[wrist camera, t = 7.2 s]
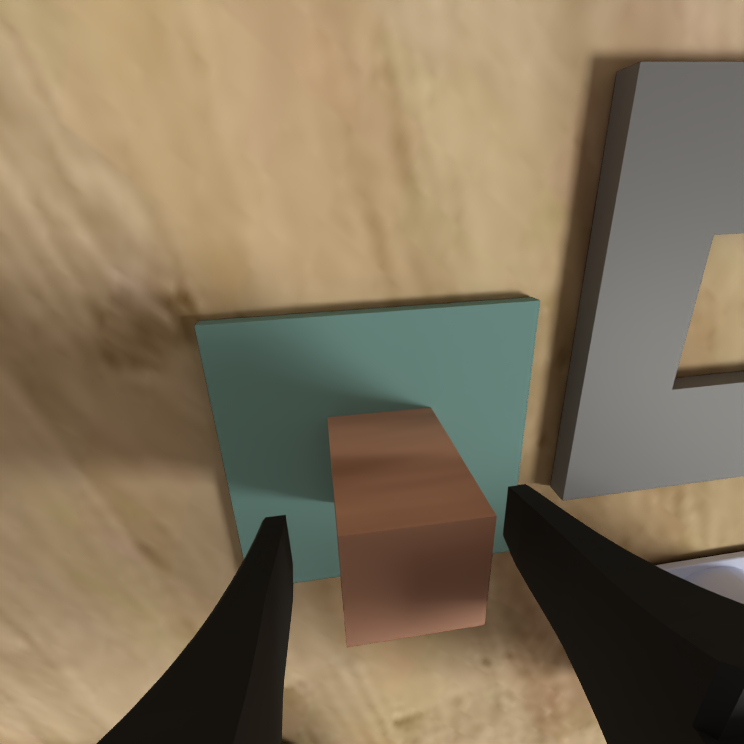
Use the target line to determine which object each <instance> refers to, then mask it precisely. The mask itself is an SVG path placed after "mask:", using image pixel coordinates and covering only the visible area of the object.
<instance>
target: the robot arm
mask: <svg viewBox="0 0 744 744" xmlns="http://www.w3.org/2000/svg"><path fill="white" fill-rule="evenodd" d="M503 537H504V539H505V541H506V544H507V546H508V548H509V551H510V553H511V555H512V558H513V560H514V562H515V564H516V566H517V568H518V570H519V571H520V573H521V575H522V577H523V578H524V580H525V582H526V583H527V585H528V587H529V589H530V590H531V592H532V594H533V595H534V597H535V599H536V600H537V602H538V604H539V605H540V607H541V609H542V611H543V612H544V614H545V616H546V617H547V619H548V621H549V622H550V624H551V626H552V627H553V629H554V631H555V633H556V634H557V636H558V638H559V640H560V642H561V644H562V645H563V647H564V649H565V651H566V654H567V656H568V658H569V660H570V662H571V664H572V666H573V668H574V670H575V672H576V675H577V677H578V679H579V681H580V683H581V685H582V687H583V690H584V692H585V694H586V696H587V699H588V701H589V703H590V705H591V707H592V710H593V712H594V714H595V716H596V718H597V721H598V723H599V725H600V728H601V730H602V733H603V735H604V737H605V740H606V742H607V744H744V551H741V552H735V553H728V554H722V555H716V556H710V557H703V558H697V559H691V560H685V561H678V562H672V563H666V564H660V565H653V564H651V563H649V562H648V561H646V560H644V559H642V558H640V557H638V556H636V555H634V554H632V553H631V552H629V551H627V550H625V549H624V548H622V547H620V546H618V545H617V544H615V543H613V542H612V541H610V540H608V539H607V538H605V537H604V536H602V535H600V534H599V533H597V532H595V531H594V530H592V529H591V528H589V527H588V526H586V525H585V524H583V523H582V522H580V521H579V520H577V519H576V518H574V517H573V516H571V515H570V514H568V513H567V512H565V511H564V510H562V509H561V508H560V507H558V506H557V505H555V504H554V503H552V502H551V501H550V500H548V499H547V498H545V497H544V496H542V495H541V494H540V493H538V492H537V491H535V490H534V489H532V488H531V487H529V486H528V485H526V484H524V485H516V486H508V492H507V501H506V510H505V519H504V528H503ZM292 603H293V560H292V553H291V547H290V540H289V533H288V527H287V520H286V515H280V516H272V517H265V519H264V520H263V521H262V523H261V525H260V528H259V530H258V532H257V534H256V537H255V539H254V541H253V543H252V545H251V547H250V549H249V551H248V553H247V555H246V557H245V558H244V560H243V562H242V564H241V566H240V567H239V569H238V571H237V573H236V575H235V576H234V578H233V580H232V581H231V583H230V585H229V586H228V588H227V589H226V591H225V593H224V594H223V596H222V597H221V599H220V601H219V602H218V604H217V605H216V607H215V608H214V610H213V611H212V613H211V614H210V615H209V617H208V618H207V620H206V621H205V623H204V624H203V625H202V627H201V628H200V629H199V631H198V632H197V633H196V635H195V636H194V637H193V639H192V640H191V641H190V643H189V644H188V645H187V646H186V648H185V649H184V650H183V651H182V653H181V654H180V655H179V656H178V658H177V659H176V660H175V661H174V662H173V664H172V665H171V666H170V667H169V668H168V670H167V671H166V672H165V673H164V674H163V675H162V677H161V678H160V679H159V680H158V681H157V682H156V683H155V684H154V685H153V686H152V687H151V689H150V690H149V691H148V692H147V693H146V694H145V695H144V696H143V697H142V698H141V699H140V701H139V702H138V703H137V704H136V705H135V706H134V707H133V708H132V709H131V710H130V711H129V712H128V713H127V714H126V715H125V716H124V717H123V718H122V719H121V720H120V721H119V722H118V723H117V724H116V725H115V726H114V727H113V728H112V729H111V730H110V731H109V732H108V733H107V734H106V735H105V736H104V737H103V738H102V739H101V740H100V741H99V742H98V743H97V744H282V711H283V689H284V676H285V667H286V658H287V649H288V640H289V631H290V622H291V612H292Z"/></svg>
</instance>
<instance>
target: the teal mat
mask: <svg viewBox="0 0 744 744" xmlns="http://www.w3.org/2000/svg"><path fill="white" fill-rule="evenodd" d="M539 305H540V300H538V299H535V298H533V297H526V298H512V299H498V300H484V301H470V302H456V303H442V304H428V305H414V306H400V307H386V308H372V309H358V310H344V311H330V312H316V313H302V314H288V315H274V316H260V317H246V318H232V319H218V320H204V321H198V322H197V323H196V324H195V325H194V327H195V331H196V336H197V341H198V346H199V350H200V355H201V360H202V365H203V369H204V374H205V379H206V384H207V388H208V393H209V398H210V402H211V407H212V412H213V417H214V421H215V426H216V431H217V436H218V440H219V445H220V450H221V454H222V459H223V464H224V469H225V473H226V478H227V483H228V488H229V492H230V497H231V502H232V506H233V511H234V516H235V521H236V525H237V530H238V535H239V540H240V544H241V549H242V554H243V559H244V558H245V557H246V555H247V553H248V551H249V549H250V547H251V545H252V543H253V541H254V539H255V537H256V534H257V532H258V530H259V528H260V525H261V523H262V521H263V520H264V519H265V517H272V516H280V515H286V520H287V527H288V533H289V540H290V547H291V553H292V560H293V583H298V582H305V581H311V580H318V579H325V578H332V577H338V576H341V575H340V564H339V553H338V541H337V530H336V518H335V507H334V495H333V483H332V470H331V458H330V445H329V433H328V421H327V417H335V416H346V415H356V414H367V413H378V412H388V411H399V410H409V409H420V408H430V407H431V408H432V410H433V411H434V413H435V415H436V416H437V418H438V420H439V421H440V423H441V425H442V426H443V428H444V430H445V431H446V433H447V435H448V436H449V438H450V440H451V441H452V443H453V444H454V446H455V448H456V449H457V451H458V453H459V454H460V456H461V458H462V459H463V461H464V463H465V464H466V466H467V468H468V469H469V471H470V473H471V474H472V476H473V477H474V479H475V481H476V482H477V484H478V486H479V487H480V489H481V491H482V492H483V494H484V496H485V497H486V499H487V501H488V502H489V504H490V506H491V507H492V509H493V511H494V512H495V514H496V515H497V518H496V527H495V536H494V545H493V553H500V552H507V551H509V548H508V546H507V544H506V541H505V539H504V537H503V528H504V519H505V510H506V501H507V492H508V486H516V485H518V477H519V469H520V461H521V452H522V444H523V436H524V428H525V420H526V412H527V403H528V395H529V387H530V379H531V371H532V363H533V354H534V346H535V338H536V330H537V322H538V314H539Z"/></svg>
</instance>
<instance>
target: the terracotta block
mask: <svg viewBox="0 0 744 744" xmlns="http://www.w3.org/2000/svg"><path fill="white" fill-rule="evenodd" d="M327 421H328V433H329V445H330V458H331V470H332V483H333V495H334V507H335V518H336V530H337V541H338V553H339V564H340V575H341V587H342V598H343V610H344V621H345V633H346V644H347V647H353V646H359V645H365V644H371V643H377V642H383V641H389V640H395V639H401V638H407V637H414V636H420V635H426V634H432V633H438V632H444V631H450V630H456V629H462V628H468V627H474V626H481V625H485V617H486V608H487V599H488V590H489V581H490V572H491V563H492V554H493V545H494V536H495V527H496V518H497V515H496V514H495V512H494V511H493V509H492V507H491V506H490V504H489V502H488V501H487V499H486V497H485V496H484V494H483V492H482V491H481V489H480V487H479V486H478V484H477V482H476V481H475V479H474V477H473V476H472V474H471V473H470V471H469V469H468V468H467V466H466V464H465V463H464V461H463V459H462V458H461V456H460V454H459V453H458V451H457V449H456V448H455V446H454V444H453V443H452V441H451V440H450V438H449V436H448V435H447V433H446V431H445V430H444V428H443V426H442V425H441V423H440V421H439V420H438V418H437V416H436V415H435V413H434V411H433V410H432V408H431V407H430V408H420V409H409V410H399V411H388V412H378V413H367V414H356V415H346V416H335V417H327Z"/></svg>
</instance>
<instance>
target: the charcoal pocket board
mask: <svg viewBox="0 0 744 744" xmlns="http://www.w3.org/2000/svg"><path fill="white" fill-rule="evenodd" d="M739 233H744V62H639V63H636V64H634V65H632V66H629V67H627V68H625V69H622V70H620V71H618V72H617V75H616V81H615V87H614V93H613V100H612V106H611V112H610V118H609V125H608V131H607V137H606V143H605V149H604V156H603V162H602V168H601V174H600V181H599V187H598V193H597V199H596V205H595V212H594V218H593V224H592V230H591V237H590V243H589V249H588V255H587V261H586V268H585V274H584V280H583V286H582V293H581V299H580V305H579V311H578V317H577V324H576V330H575V336H574V342H573V349H572V355H571V361H570V367H569V374H568V380H567V386H566V392H565V398H564V405H563V411H562V417H561V423H560V430H559V436H558V442H557V448H556V454H555V461H554V467H553V473H552V479H551V486H550V487H551V488H552V489H553V490H554V491H555V492H556V494H557V495H558V496H559V497H560V498H561V499H562V500H563V501H564V500H571V499H579V498H586V497H593V496H601V495H608V494H616V493H623V492H630V491H638V490H645V489H653V488H660V487H667V486H675V485H682V484H690V483H697V482H704V481H712V480H719V479H726V478H734V477H741V476H744V371H739V372H729V373H719V374H709V375H699V376H689V377H679V378H675V376H676V373H677V369H678V365H679V362H680V358H681V354H682V351H683V347H684V343H685V340H686V336H687V332H688V328H689V325H690V321H691V317H692V314H693V310H694V306H695V303H696V299H697V295H698V292H699V288H700V284H701V280H702V277H703V273H704V269H705V266H706V262H707V258H708V255H709V251H710V247H711V244H712V240H713V236H714V235H721V234H739Z"/></svg>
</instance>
